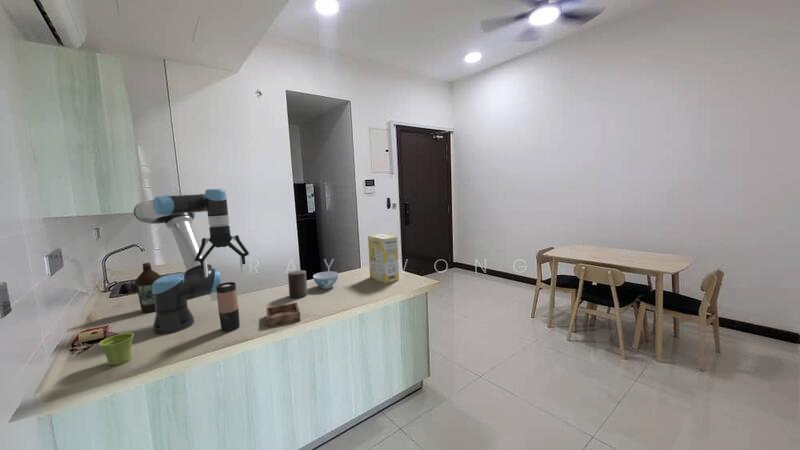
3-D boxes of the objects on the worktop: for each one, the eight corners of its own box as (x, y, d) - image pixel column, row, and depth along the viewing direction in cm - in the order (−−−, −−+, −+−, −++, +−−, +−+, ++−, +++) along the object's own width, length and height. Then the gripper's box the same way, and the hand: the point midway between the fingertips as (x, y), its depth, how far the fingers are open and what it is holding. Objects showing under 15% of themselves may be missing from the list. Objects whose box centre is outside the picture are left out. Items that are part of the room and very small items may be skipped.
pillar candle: (293, 300, 170) (291, 273, 169) (287, 295, 178) (285, 269, 176) (310, 295, 177) (308, 270, 175) (303, 291, 184) (301, 266, 182)
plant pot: (106, 359, 116) (103, 337, 115) (139, 351, 121) (136, 330, 120) (99, 371, 108) (95, 348, 107) (134, 362, 113) (131, 340, 112)
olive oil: (143, 308, 167) (136, 262, 164) (167, 304, 171) (161, 259, 168) (137, 315, 157) (129, 267, 154) (163, 310, 162) (156, 263, 159)
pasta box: (398, 280, 199) (397, 236, 196) (385, 283, 193) (383, 239, 189) (383, 274, 214) (381, 233, 210) (370, 277, 207) (367, 235, 204)
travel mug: (244, 326, 140) (239, 283, 137) (227, 333, 133) (222, 288, 130) (234, 323, 143) (229, 281, 141) (217, 330, 137) (212, 286, 134)
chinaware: (321, 293, 180) (320, 280, 179) (309, 287, 191) (308, 275, 190) (343, 286, 190) (342, 274, 189) (331, 281, 201) (330, 270, 200)
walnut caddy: (267, 327, 138) (266, 318, 137) (267, 315, 151) (266, 307, 150) (300, 320, 143) (299, 312, 143) (297, 310, 156) (296, 302, 156)
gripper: (182, 229, 124) (189, 280, 127) (251, 223, 134) (256, 271, 137) (186, 227, 131) (192, 276, 133) (251, 222, 141) (256, 267, 143)
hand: (224, 274), depth 135 cm, fingers open, 13 cm apart
